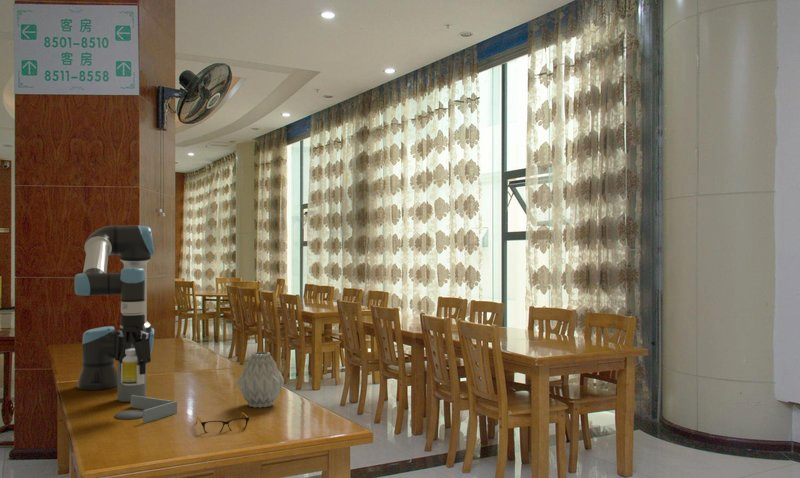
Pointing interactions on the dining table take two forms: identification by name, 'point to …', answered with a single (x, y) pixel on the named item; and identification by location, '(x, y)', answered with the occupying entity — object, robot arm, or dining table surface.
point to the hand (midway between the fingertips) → (132, 382)
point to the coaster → (130, 414)
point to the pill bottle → (129, 368)
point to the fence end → (159, 412)
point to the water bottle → (127, 391)
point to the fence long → (147, 402)
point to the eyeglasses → (224, 422)
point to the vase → (260, 380)
